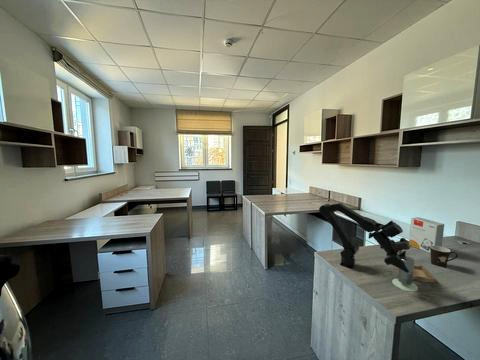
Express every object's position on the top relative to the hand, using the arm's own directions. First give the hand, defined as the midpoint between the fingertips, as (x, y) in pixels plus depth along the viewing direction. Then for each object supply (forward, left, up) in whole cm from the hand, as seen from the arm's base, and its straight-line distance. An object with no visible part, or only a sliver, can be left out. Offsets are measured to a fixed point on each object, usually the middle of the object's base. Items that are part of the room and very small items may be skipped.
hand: (409, 270), depth 101 cm
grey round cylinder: (-1, 0, -7) cm, 7 cm away
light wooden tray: (0, +15, -9) cm, 17 cm away
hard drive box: (0, +59, -9) cm, 60 cm away
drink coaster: (-1, 0, -9) cm, 9 cm away
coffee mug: (+10, +38, -9) cm, 40 cm away
